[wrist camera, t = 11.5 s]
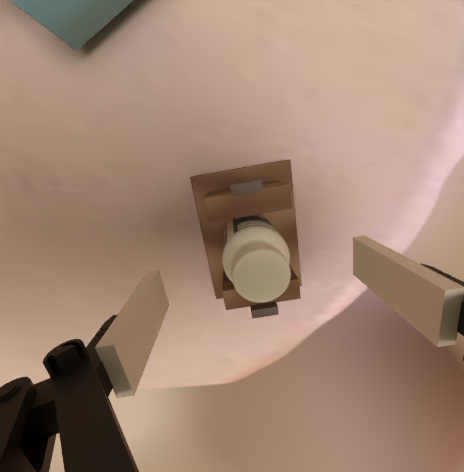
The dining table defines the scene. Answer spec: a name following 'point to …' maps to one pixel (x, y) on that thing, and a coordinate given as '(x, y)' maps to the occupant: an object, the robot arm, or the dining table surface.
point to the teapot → (73, 17)
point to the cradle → (241, 205)
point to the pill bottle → (256, 258)
